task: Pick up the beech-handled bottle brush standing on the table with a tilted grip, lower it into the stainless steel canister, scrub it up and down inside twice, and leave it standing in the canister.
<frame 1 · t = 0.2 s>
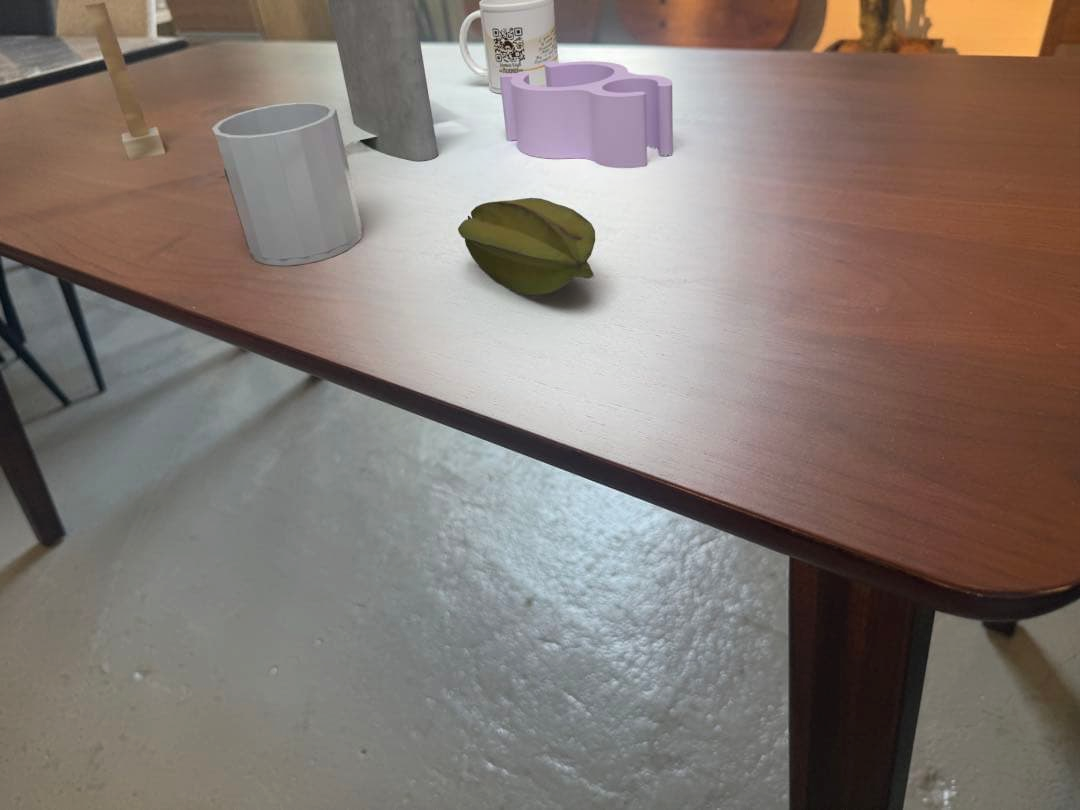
clip: (590, 146, 94), on the table
mug: (517, 86, 119), on the table
canister: (306, 242, 77), on the table
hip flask: (392, 148, 100), on the table
fruit: (529, 286, 66), on the table
brush: (151, 167, 102), on the table
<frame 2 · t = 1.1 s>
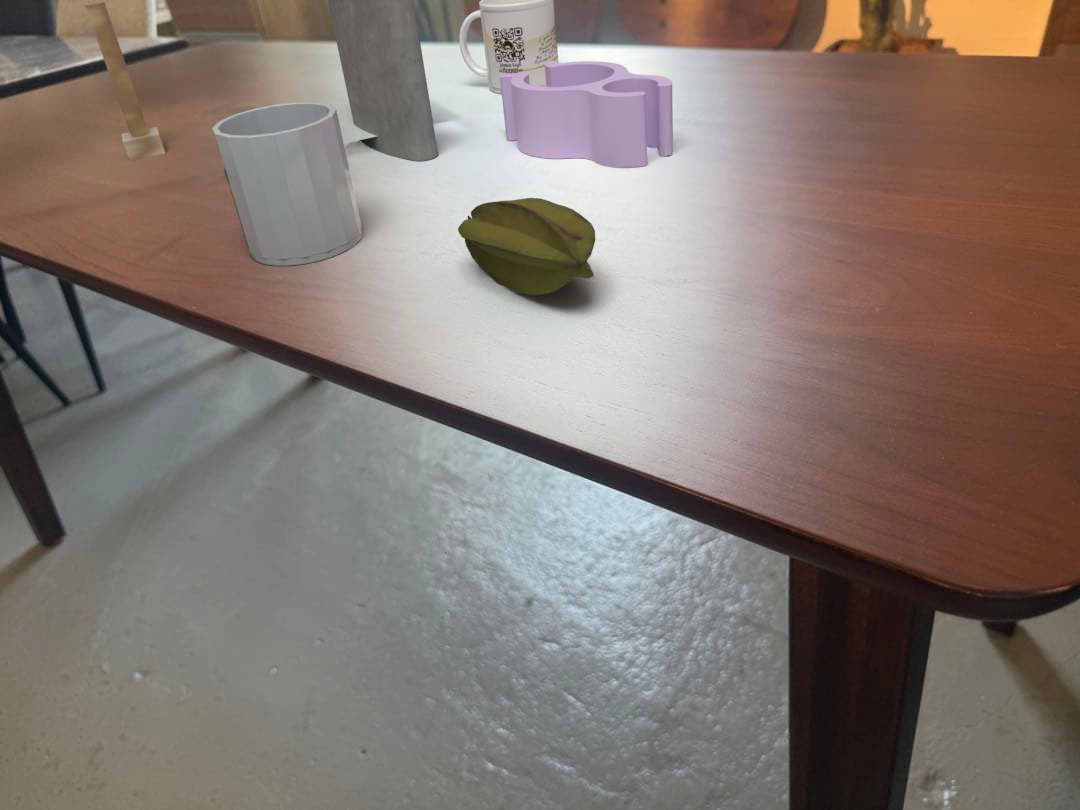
nothing on the table moved.
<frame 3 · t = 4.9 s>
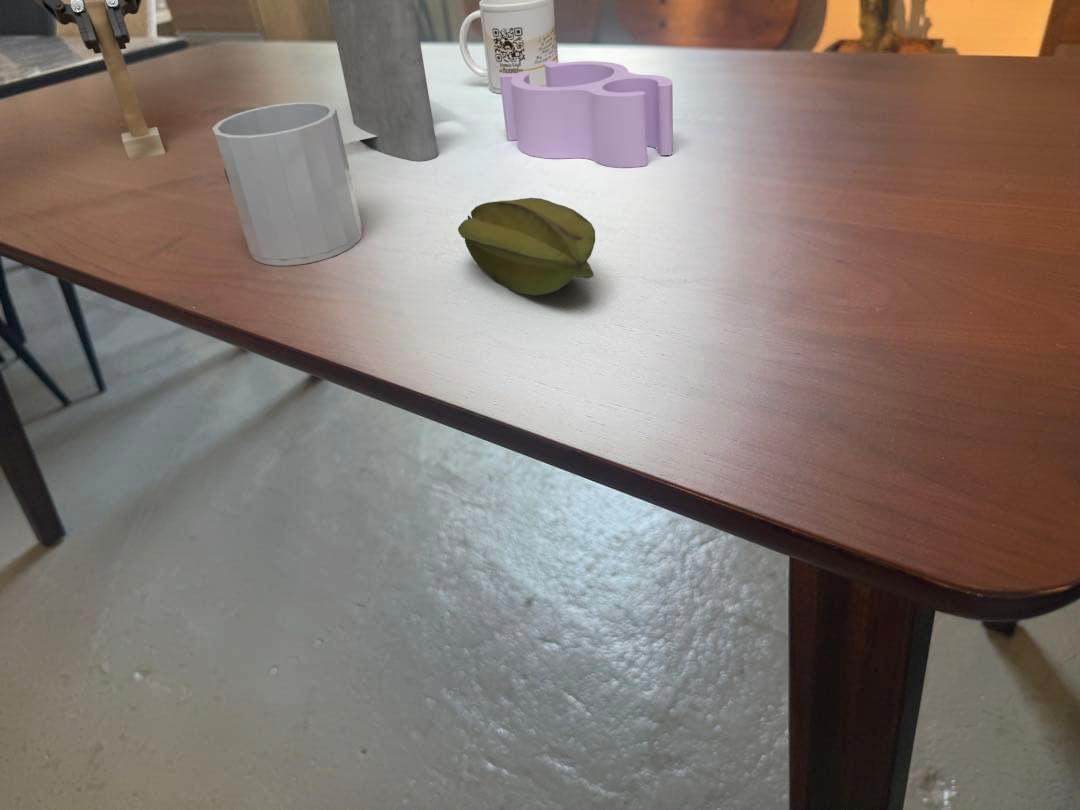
hand: (109, 45, 93), 14 cm above the table, tool tilted 45°, fingers closed on brush, 2 cm apart
brush: (151, 167, 102), on the table, touching gripper
everything else where it was.
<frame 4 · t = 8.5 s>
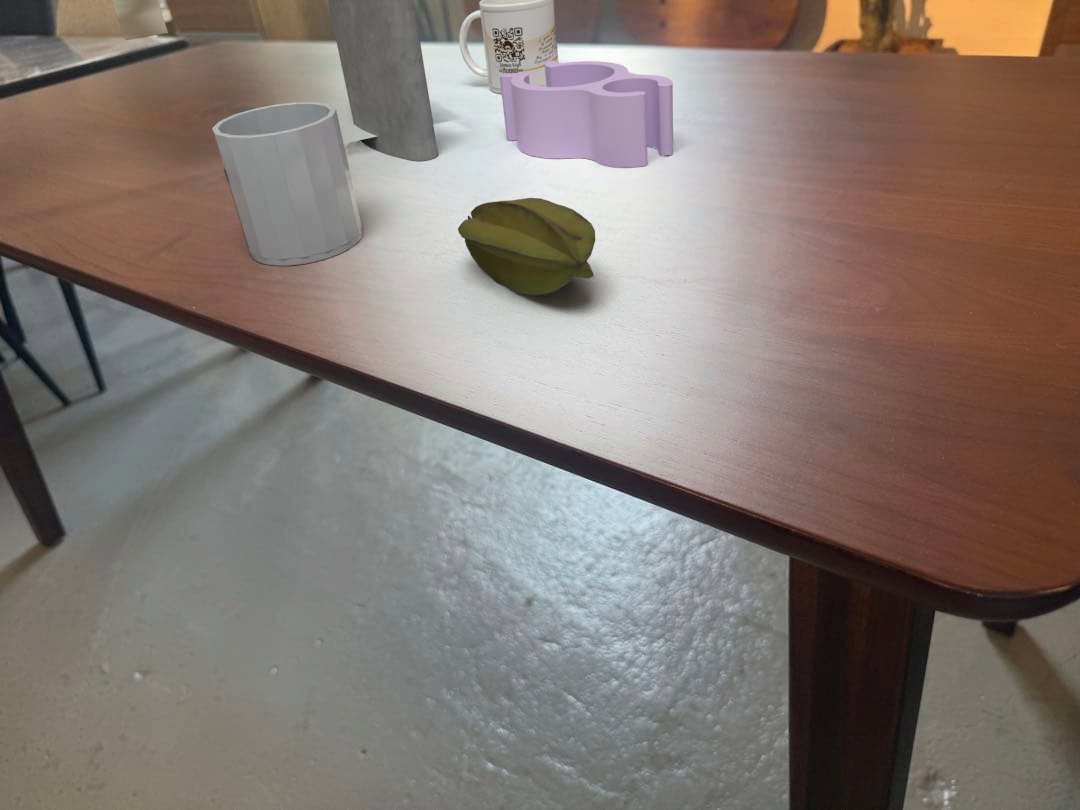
brush: (145, 34, 85), point 16 cm above the table, touching gripper
everything else where it was.
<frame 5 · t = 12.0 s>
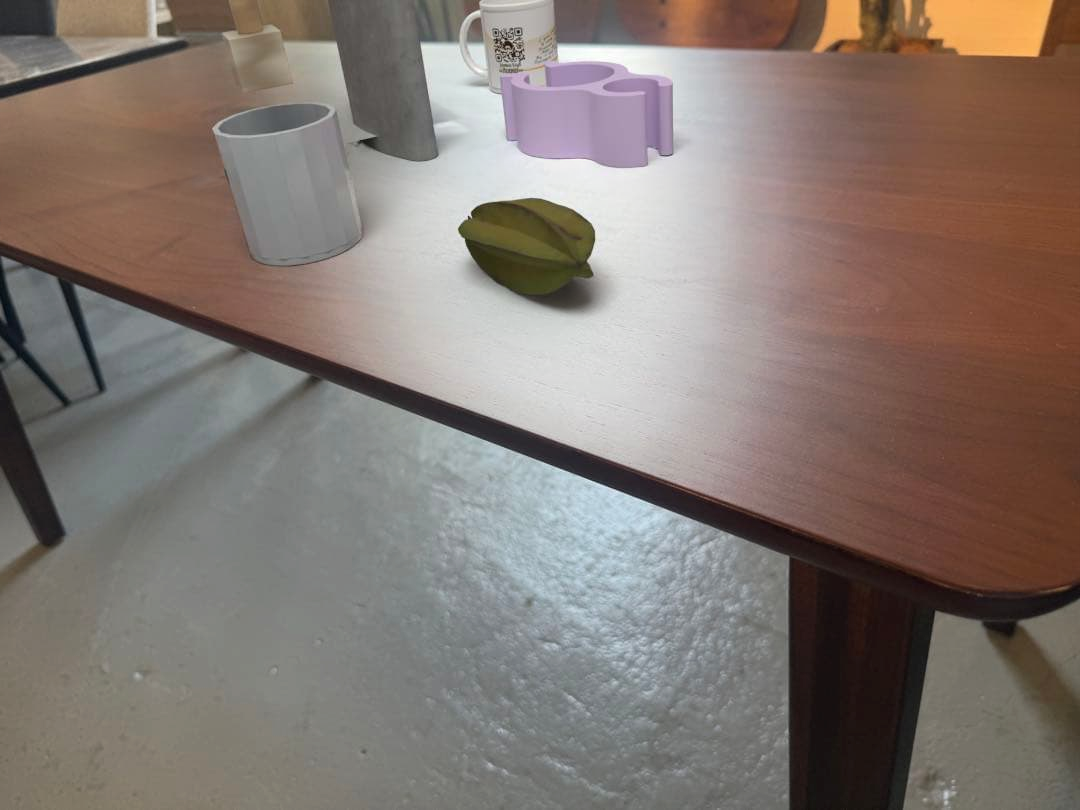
brush: (264, 84, 70), point 14 cm above the table, touching gripper
everything else where it was.
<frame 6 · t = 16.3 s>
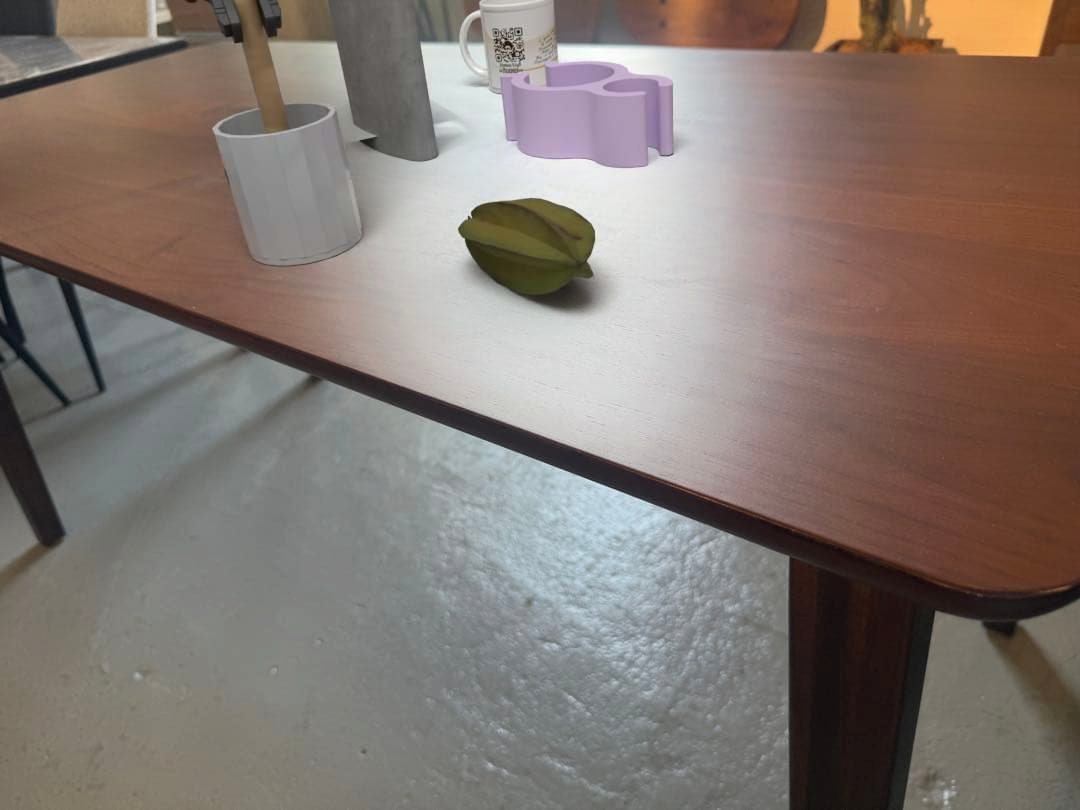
hand: (255, 32, 66), 18 cm above the table, tool tilted 45°, fingers closed on brush
brush: (295, 199, 75), point 4 cm above the table, touching gripper
everything else where it was.
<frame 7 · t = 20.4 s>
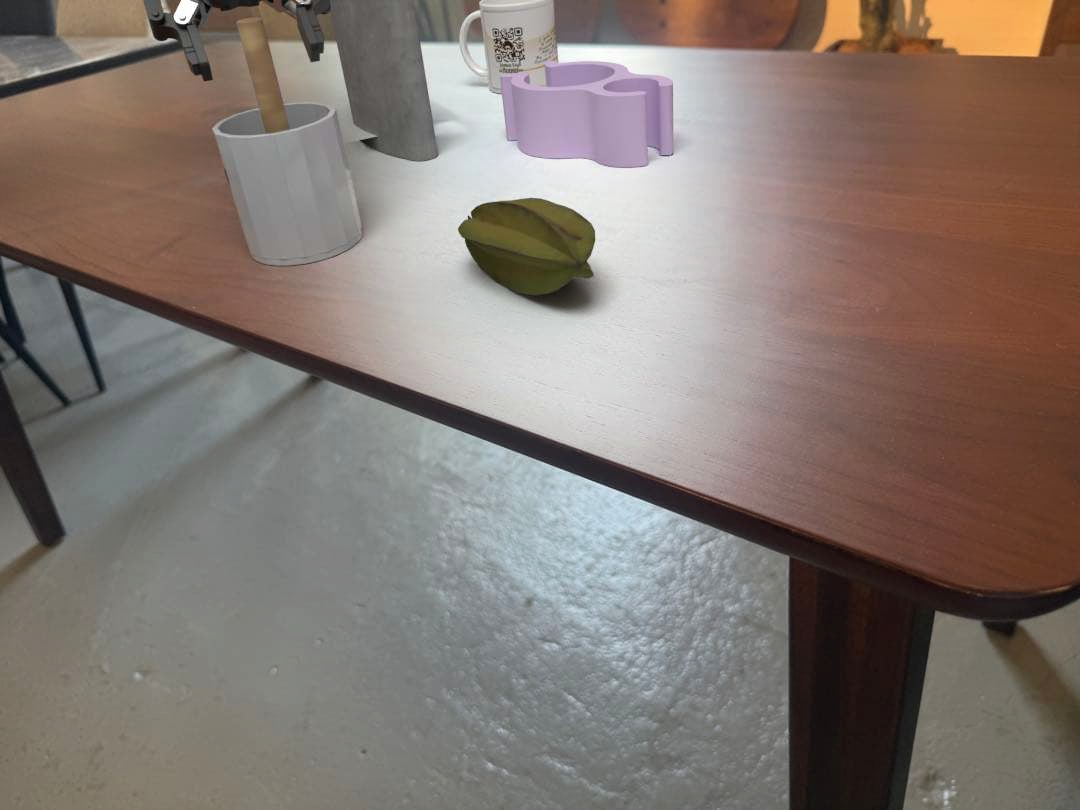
hand: (262, 65, 68), 15 cm above the table, tool tilted 45°, fingers open, 8 cm apart
brush: (305, 236, 77), point 1 cm above the table, touching canister
everything else where it was.
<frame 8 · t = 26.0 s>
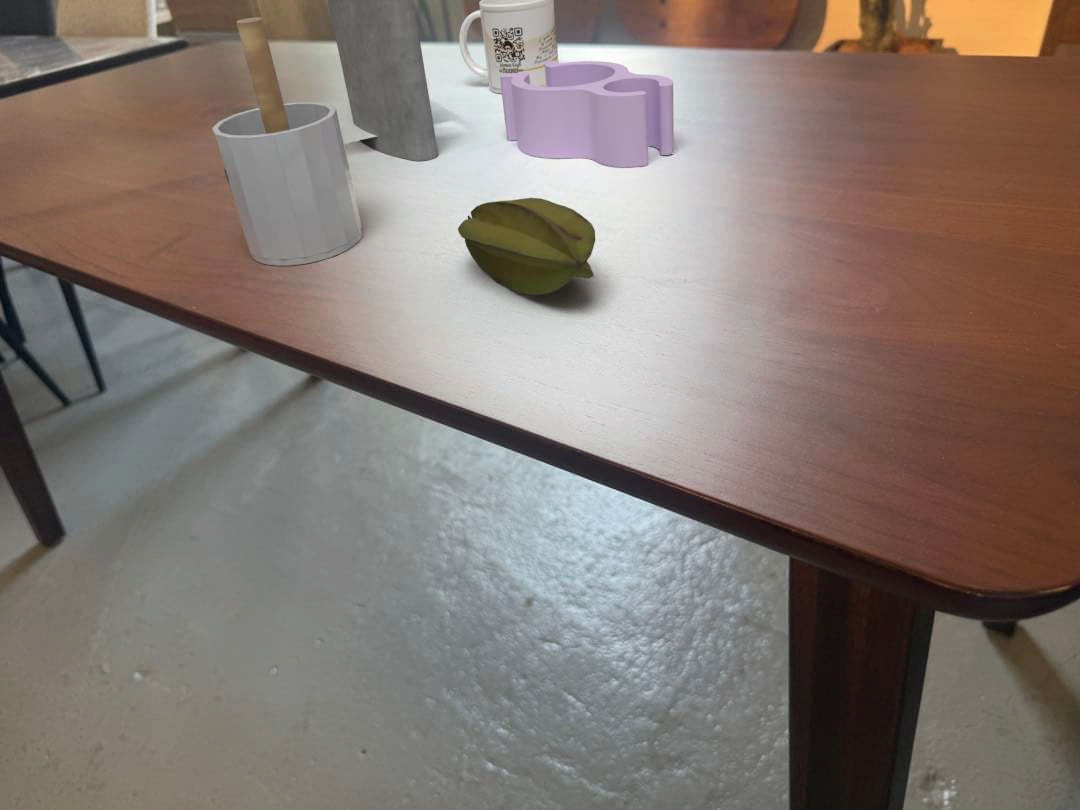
nothing on the table moved.
at the end: brush inside the target area in the canister (0.0 cm from its centre), point 0.6 cm above the canister's base; the gripper is holding nothing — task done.
